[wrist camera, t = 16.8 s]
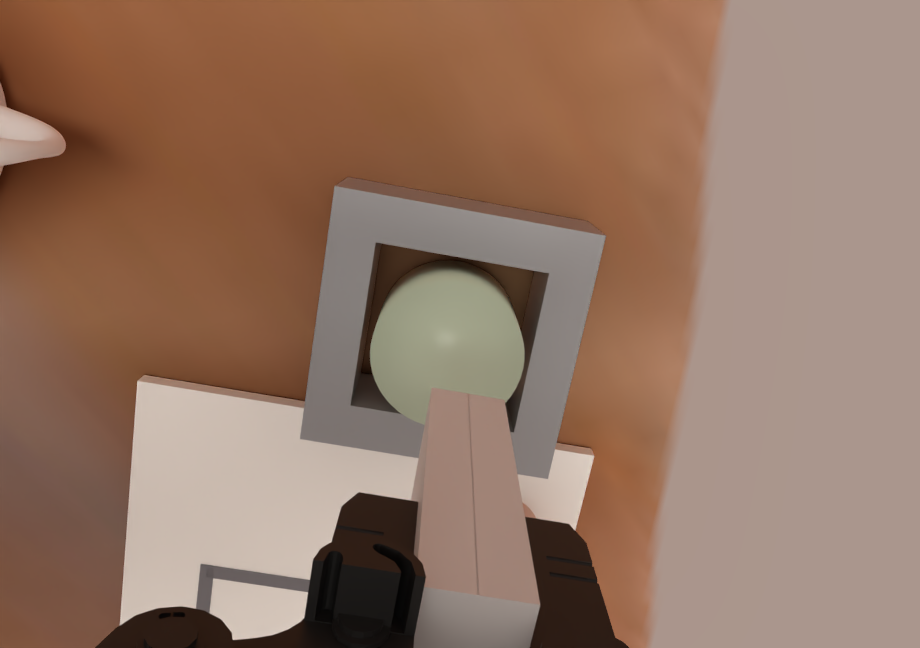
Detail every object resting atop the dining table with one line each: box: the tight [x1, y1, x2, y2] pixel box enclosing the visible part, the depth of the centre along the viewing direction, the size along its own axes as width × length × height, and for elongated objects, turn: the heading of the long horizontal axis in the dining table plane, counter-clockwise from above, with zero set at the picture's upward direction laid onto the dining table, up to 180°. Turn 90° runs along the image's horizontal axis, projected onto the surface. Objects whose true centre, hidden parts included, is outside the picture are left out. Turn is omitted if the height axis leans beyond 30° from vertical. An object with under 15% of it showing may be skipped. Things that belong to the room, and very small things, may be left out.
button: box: [370, 260, 525, 425], centre depth 23 cm, size 4×4×3 cm
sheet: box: [120, 375, 594, 640], centre depth 28 cm, size 16×13×1 cm
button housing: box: [300, 177, 606, 479], centre depth 24 cm, size 8×8×3 cm
